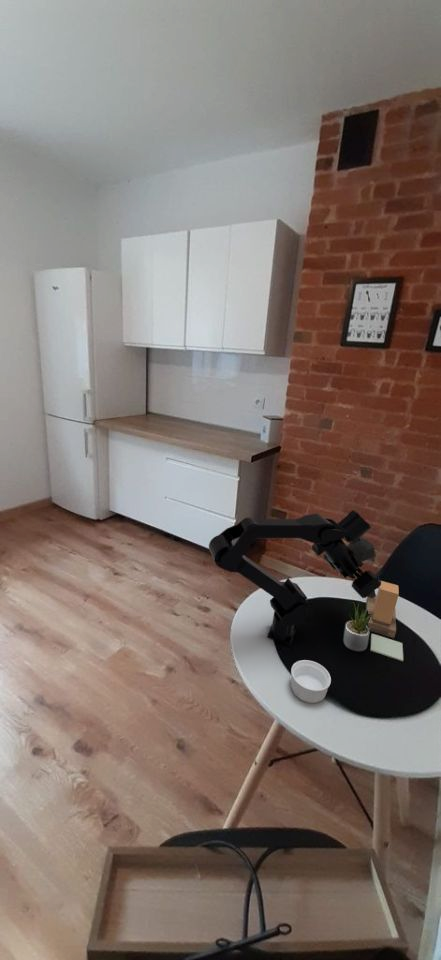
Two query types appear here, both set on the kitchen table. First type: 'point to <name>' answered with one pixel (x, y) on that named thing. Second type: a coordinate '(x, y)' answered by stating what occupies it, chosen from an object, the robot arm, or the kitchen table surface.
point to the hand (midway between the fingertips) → (363, 586)
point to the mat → (386, 647)
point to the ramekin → (309, 681)
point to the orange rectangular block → (385, 602)
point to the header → (377, 626)
